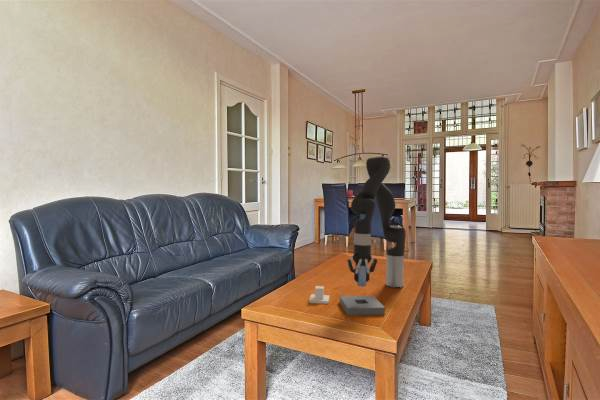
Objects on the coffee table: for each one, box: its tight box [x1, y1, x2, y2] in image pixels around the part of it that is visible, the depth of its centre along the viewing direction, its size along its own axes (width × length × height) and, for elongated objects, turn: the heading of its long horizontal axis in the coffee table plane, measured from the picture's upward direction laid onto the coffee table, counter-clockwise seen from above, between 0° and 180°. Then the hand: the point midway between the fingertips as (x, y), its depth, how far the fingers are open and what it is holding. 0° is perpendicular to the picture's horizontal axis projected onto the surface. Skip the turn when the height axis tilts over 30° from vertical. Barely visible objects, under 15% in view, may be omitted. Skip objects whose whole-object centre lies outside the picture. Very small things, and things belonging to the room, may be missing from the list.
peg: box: [356, 266, 367, 287], centre depth 147 cm, size 4×4×9 cm
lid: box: [308, 285, 330, 305], centre depth 158 cm, size 9×9×6 cm
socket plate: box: [339, 295, 386, 316], centre depth 148 cm, size 16×16×3 cm
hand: (361, 281), depth 147 cm, fingers closed on peg, 4 cm apart
